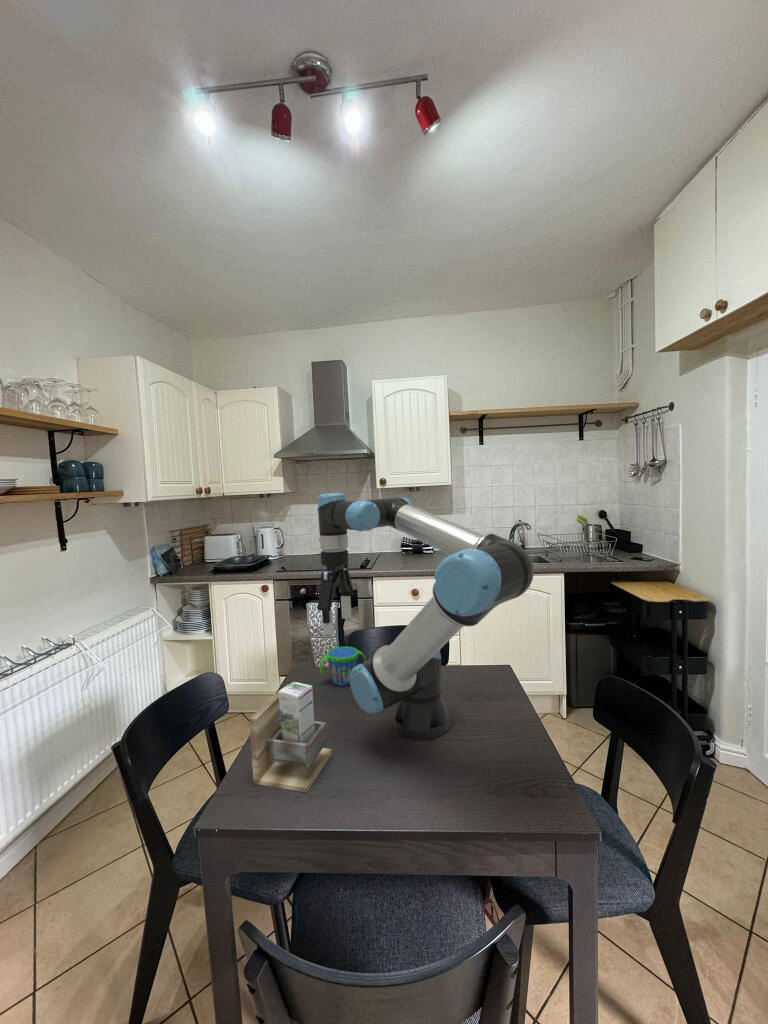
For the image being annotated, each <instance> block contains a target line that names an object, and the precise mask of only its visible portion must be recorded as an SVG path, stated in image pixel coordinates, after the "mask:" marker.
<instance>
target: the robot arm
mask: <svg viewBox="0 0 768 1024" xmlns="http://www.w3.org/2000/svg"><path fill="white" fill-rule="evenodd" d="M317 501H318V502H317V505H318V507H317V514H318V515H317V516H318V528H319V529H318V532H319V538H318V541H319V543H320V548H319V549H320V550H321V551H320V564H321V565H322V566H325V567H326V571H321V573H320V586H319V587H320V588H319V593H318V600H317V611H321V619H322V622H321V623H322V634H323V636H324V635H325V636H334V635H335V633H334V631H335V630H334V614H333V613H334V612H333V609H332V605H333V601H334V597H335V592H336V589H337V588H339V590H340V591H339V592H340V593H341V596H340V604H341V605H340V607H341V608H340V609H341V619H345V620H346V619H347V620H350V619H352V601H351V600H352V599H351V596H354V587H353V583H352V579H351V576H350V575H351V574H350V571H349V550H347V549H348V548H349V542H348V541H349V540H348V539H349V538H348V537H349V536H348V531H351V530H352V531H357V532H364V531H365V532H367V531H368V532H369V531H371V530H374V529H377V528H384V527H390V528H392V529H393V528H394V529H395V530H397V531H400V532H402V533H404V534H405V535H408V536H410V537H412V538H414V539H416V540H418V541H420V542H423V543H424V544H426V545H428V546H430V547H433V548H435V549H437V550H438V551H441V552H443V553H445V554H446V555H448V556H446V557H444V558H443V560H441V562H440V563H439V565H438V566H437V568H436V570H435V573H434V580H435V582H434V583H433V586H432V597H431V598H430V599H429V600H428V601H427V602H426V604H425V605H424V606H423V607H422V609H420V611H419V612H418V613H417V614H416V615H415V616H414V617H413V618H412V620H411V621H410V622H409V623H408V624H407V626H406V627H404V629H403V630H402V631H401V632H400V633H399V634H398V635H397V637H396V638H395V639H394V640H393V642H391V644H388V645H387V644H386V645H383V646H381V647H379V648H377V650H376V651H375V652H374V653H373V654H372V656H370V657H369V659H368V660H366V662H365V663H363V662H362V663H357V666H356V667H354V668H353V669H352V671H351V673H350V684H349V685H350V690H351V692H352V695H353V697H354V698H353V699H355V702H356V703H357V705H358V706H359V708H361V710H363V711H364V712H365V713H367V714H369V715H374V714H375V715H376V714H377V713H381V712H383V711H384V710H386V709H387V708H388V709H389V707H392V706H394V705H395V708H394V712H393V716H392V719H393V729H394V730H395V732H397V733H398V734H399V735H401V736H403V737H404V738H408V739H413V740H420V741H421V740H422V741H423V740H432V739H436V738H438V737H441V736H442V735H444V734H445V733H447V731H448V730H449V728H450V715H449V712H448V708H447V707H446V703H445V700H444V698H443V693H442V692H443V691H442V690H443V689H442V688H443V685H442V684H443V683H442V655H441V649H442V648H443V647H444V646H445V645H447V643H448V642H449V641H450V640H452V639H453V637H454V636H456V635H457V633H458V632H459V631H460V630H461V629H462V628H464V627H474V626H477V625H478V624H479V623H480V622H481V621H482V620H483V619H484V618H485V617H486V616H487V615H489V614H490V612H491V611H493V610H494V609H495V608H496V607H498V606H499V605H500V604H503V603H506V602H509V601H511V600H514V599H516V598H519V597H520V596H522V595H523V594H525V592H527V591H528V589H529V588H530V587H531V584H532V583H533V580H534V579H533V578H534V575H535V574H534V573H535V572H534V563H533V561H532V558H531V556H530V555H529V554H528V552H527V551H526V550H525V549H524V548H523V547H522V546H521V545H519V544H518V543H516V542H513V541H511V540H509V539H506V538H504V537H501V536H499V535H496V534H493V533H488V534H486V535H484V534H482V533H480V532H477V531H474V530H473V529H471V528H468V527H465V526H462V525H460V524H458V523H455V522H453V521H449V520H448V519H445V518H443V517H440V516H438V515H436V514H433V513H430V512H428V511H426V510H424V509H421V508H418V507H416V506H414V505H413V502H411V500H410V499H409V498H407V497H398V496H396V497H390V498H389V497H388V498H387V497H386V498H376V499H361V500H360V499H359V500H347V499H346V494H344V493H341V492H337V493H336V492H334V493H333V492H332V493H321V494H319V495H318V499H317Z"/></svg>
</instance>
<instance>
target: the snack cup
mask: <svg viewBox="0 0 768 1024" xmlns="http://www.w3.org/2000/svg"><path fill="white" fill-rule="evenodd" d="M359 655H361V656H362V657H363V661H362V664H363V663H365V662H367V659H366V656H365V655H364V653H363V652H362V651H360V650H358V649H357V648H356V647H352V646H338V647H334V648H332V649H329V650H328V651H327V652H326V654H325V655H324V656H322V658H321V660H320V663H319V673H320V675H321V677H323V676H324V674H323V663H324V662H325V661H326V660H328V666H329V671H330V676H331V680H332V684H334V685H335V686H340V687H343V686H348V685H350V673H351V671H352V669H353V668H354V667H356V666H357V665H358V658H359Z"/></svg>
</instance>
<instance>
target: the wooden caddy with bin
mask: <svg viewBox="0 0 768 1024" xmlns="http://www.w3.org/2000/svg"><path fill="white" fill-rule="evenodd" d="M281 689H282V688H281ZM281 689H279V690H278V691H277V692H276V693H274V695H273V696H272V697H271V698H270V699H269V700H268V701H267V702H266V703H264V704H263V705H262V706H261V707H260V708H259V709H258V710H257V711H256V712H255V713H254V714H253V715H252V716H251V717H250V718H248V719H249V720H248V721H249V733H250V734H249V735H250V749H251V763H252V779H253V784H254V785H260V786H266V787H271V788H277V789H282V790H283V789H284V790H288V791H289V790H290V791H296V792H301V793H308V791H309V790H310V788H311V787H312V786H313V783H314V782H315V781H316V779H317V778H318V776H319V774H320V773H321V771H322V769H323V768H324V766H325V765H326V763H327V762H328V760H329V758H330V757H331V755H332V753H333V751H332V748H325V746H326V744H327V742H328V736H327V735H328V734H327V733H328V732H327V722H324V721H318V720H317V721H316V720H314V724H315V733H314V735H313V736H312V737H311V739H310V740H309V741H308V743H307V744H306V743H299V742H291V741H284V740H282V735H281V719H280V705H279V691H280V690H281Z"/></svg>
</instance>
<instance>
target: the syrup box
mask: <svg viewBox="0 0 768 1024" xmlns="http://www.w3.org/2000/svg"><path fill="white" fill-rule="evenodd" d="M279 690H280V689H279ZM279 690H278V691H279ZM279 705H280V719H281V735H282V740H284V741H291V742H299V743H306V744H307V743H308V741H309V740H310V739H311V737H312V736H313V735H314V733H315V724H314V721H315V709H314V708H315V707H314V694H313V685H311V684H306V683H302V682H297V681H291V682H290V683H287V684H286V685H285V686H284V687H283V688H281V690H280V691H279Z"/></svg>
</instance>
